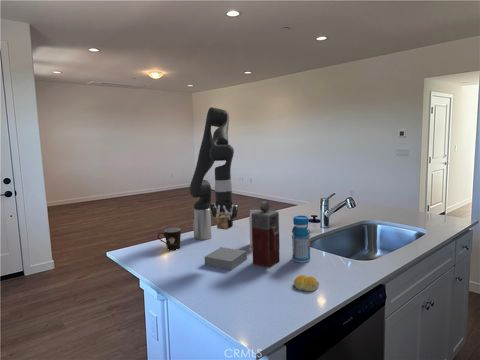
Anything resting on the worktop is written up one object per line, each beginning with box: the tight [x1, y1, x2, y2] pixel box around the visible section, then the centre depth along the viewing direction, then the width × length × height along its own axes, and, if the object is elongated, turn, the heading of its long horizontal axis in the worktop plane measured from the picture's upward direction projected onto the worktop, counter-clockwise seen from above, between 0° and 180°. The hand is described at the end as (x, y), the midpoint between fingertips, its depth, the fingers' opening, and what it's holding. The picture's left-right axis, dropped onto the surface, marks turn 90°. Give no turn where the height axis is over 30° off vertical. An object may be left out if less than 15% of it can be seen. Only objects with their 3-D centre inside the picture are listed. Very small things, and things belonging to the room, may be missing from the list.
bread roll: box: [293, 274, 320, 292], centre depth 123 cm, size 8×9×4 cm
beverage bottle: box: [291, 214, 312, 263], centre depth 149 cm, size 8×8×20 cm
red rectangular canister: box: [251, 201, 281, 269], centre depth 146 cm, size 9×11×28 cm
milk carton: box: [248, 209, 261, 248], centre depth 171 cm, size 7×7×19 cm
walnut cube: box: [216, 214, 230, 230], centre depth 148 cm, size 5×5×5 cm
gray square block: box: [204, 246, 248, 271], centre depth 150 cm, size 14×14×4 cm
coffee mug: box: [157, 227, 182, 251], centre depth 172 cm, size 12×9×10 cm
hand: (224, 226), depth 148 cm, fingers closed on walnut cube, 5 cm apart
